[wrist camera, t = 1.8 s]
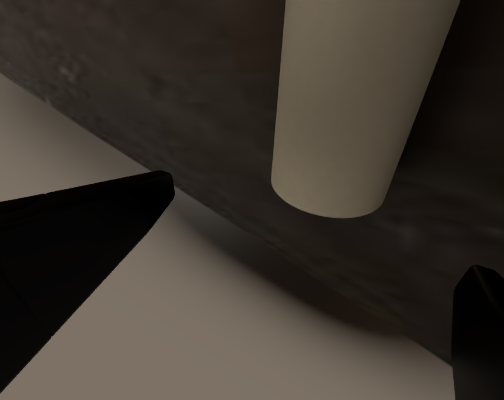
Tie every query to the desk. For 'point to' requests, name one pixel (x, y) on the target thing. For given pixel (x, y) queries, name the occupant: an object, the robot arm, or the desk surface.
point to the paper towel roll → (351, 97)
